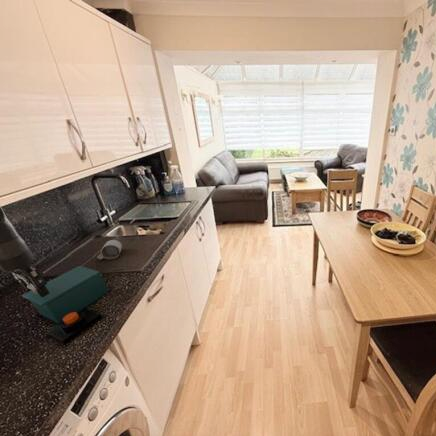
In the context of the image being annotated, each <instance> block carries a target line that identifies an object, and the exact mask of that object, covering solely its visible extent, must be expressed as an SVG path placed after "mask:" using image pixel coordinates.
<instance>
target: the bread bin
mask: <svg viewBox="0 0 436 436" xmlns="http://www.w3.org/2000/svg"><path fill="white" fill-rule="evenodd" d="M109 292H110V290H109V288H108V286H107V284H106V282H105V281H104V278H103V276H102V274H101V273H100V274H98V275H96V276H95V277H93V278H91V279H89V280H88V281H86V282H84V283H82V284H81V285H79V286H77V287H75V288H74V289H72V290H70V291H68V292H67V293H65V294H63V295H61V296H60V297H58V298H56V299H54V300H53V301H51V302H49V303H47V304H46V305H44V306H41V305H39V304H37V303H35V302H33V301H31V300H29V301H30V303H31V304H32V305H33V307H34V309H36V311H37V312H38V314H39V315H40V316H43V317H44V318H46V319H49V320H50V321H53V322H54V323H56V324H59V323H60V322H61V320H62V319H63V318H64V317H65V316H66V315H67V314H69V313H72V312H79V311H80V310H82V309H83V308H86V307H88V306H89V305H91V304H92V303H94V302H95V301H97V300H98V299H100V298H102V297H103V296H105V295H106V294H108V293H109Z"/></svg>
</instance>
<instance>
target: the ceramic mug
mask: <svg viewBox="0 0 436 436" xmlns="http://www.w3.org/2000/svg"><path fill="white" fill-rule="evenodd" d="M122 248H123V245H122V243H121V242H120V241H119V240H116V239H110V240H108V241H106V242H105V243H104V245H103V246H102V248H101V250H100V253H99V255H97V259H98V260H99V261H100V260H103V259H106V260H114V259H117V258H119V256H120V255H121V252H122Z"/></svg>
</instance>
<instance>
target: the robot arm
mask: <svg viewBox="0 0 436 436" xmlns="http://www.w3.org/2000/svg"><path fill="white" fill-rule="evenodd" d="M35 261H36V257H35V255H34V254H33V252H32V250H31V249H30V247H29V246H28V244H27V243H26V241H25V239H24V238H23V237H21V235H20V234H19V232H18V230H17V229H16V227H15V226H14V224H13V223H12V222H11V221H10V220H9V219H8V218H7V215H6V213H5V211H4V209H3V208H2V206H1V205H0V270H1V271H2V272H10V274H11V275H12V276H13V278H14V280H16V281H18V283H20V284H21V285H22V286H23V288H24V289H25V291H27V292H29V291H31V289H29V288H27V285H32V286H33V288H34V289H35V290H36V291H37V293H38V294H39V296H40V297H44V296H46V295H48V294H49V291H48V290H47V288H46V286H45V285H46V284H47V282H48V281H46V279H45V277H44V276H43V275H42V274H41V272H40V270H39V269H37V268H35V267H34V266H31V264H33V263H34V262H35ZM37 282H39V283H37Z"/></svg>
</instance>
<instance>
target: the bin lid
mask: <svg viewBox="0 0 436 436" xmlns="http://www.w3.org/2000/svg"><path fill="white" fill-rule="evenodd" d="M98 274H101V273H100V271H98V270H96V269H95V270H94V269H91V268H88V267H85V266H82V265H78V266H76V267H74V268H72V269H70V270H68V271H66V272H64V273H63V274H60V275H58V276H57V277H54V278H53V279H50V280H49V281H46V282H47V284H46V285H45V286H46V288H47V290H48V291H49V294H48V295H46V296H44V297H40V296H39V294H38V293H37V291H36V290H35V289H34V288H33V286H32V285H27V288H29V289H31V291H27V292H25V293H23V294H22V295H21V296H22V298H24V299H26V300H28V301H30V300H31V301H33V302H35V303H37V304H39V305H41V306H44V305H46V304H47V303H49V302H51V301H53V300H54V299H56V298H58V297H60V296H61V295H63V294H65V293H67V292H68V291H70V290H72V289H74V288H75V287H77V286H79V285H81V284H82V283H84V282H86V281H88V280H89V279H91V278H93V277H95V276H96V275H98ZM31 301H30V302H31Z"/></svg>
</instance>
